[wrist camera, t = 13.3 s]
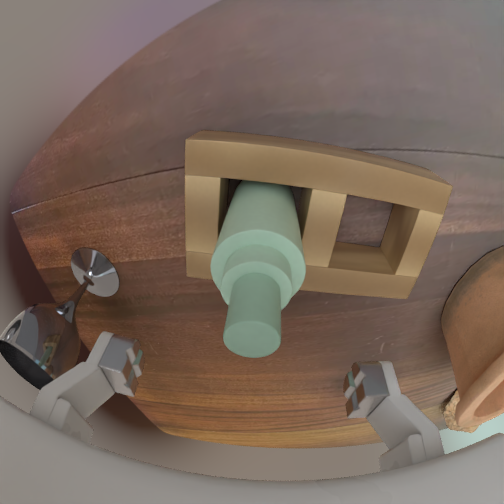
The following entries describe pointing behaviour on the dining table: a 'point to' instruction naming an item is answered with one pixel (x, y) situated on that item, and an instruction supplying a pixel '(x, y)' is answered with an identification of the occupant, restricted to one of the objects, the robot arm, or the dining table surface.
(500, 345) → the pottery
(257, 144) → the hollow wooden block
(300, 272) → the bottle
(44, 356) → the wine glass
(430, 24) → the dining table surface
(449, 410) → the rough tan rock
